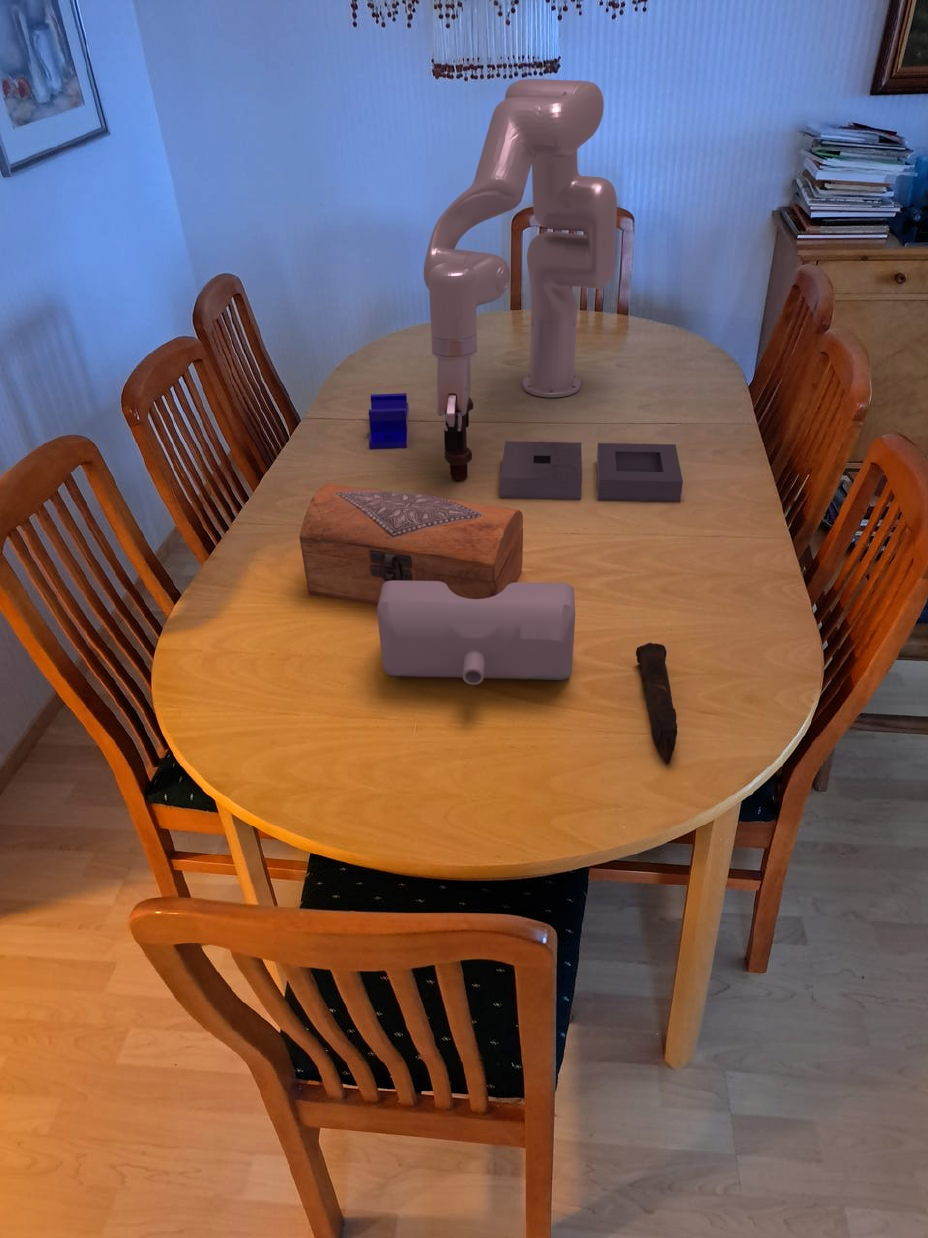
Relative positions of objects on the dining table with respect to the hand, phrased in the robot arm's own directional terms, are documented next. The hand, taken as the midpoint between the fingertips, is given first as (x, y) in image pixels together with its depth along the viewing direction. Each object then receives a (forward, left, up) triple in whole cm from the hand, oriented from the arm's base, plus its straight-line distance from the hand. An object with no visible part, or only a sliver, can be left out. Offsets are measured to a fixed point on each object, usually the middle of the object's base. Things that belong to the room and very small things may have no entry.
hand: (457, 438), depth 159 cm
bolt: (0, 0, -8) cm, 8 cm away
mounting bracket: (-20, -16, -9) cm, 27 cm away
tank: (+54, +8, -8) cm, 55 cm away
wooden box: (+34, -3, -8) cm, 35 cm away
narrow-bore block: (0, +15, -8) cm, 17 cm away
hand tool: (+60, +32, -8) cm, 68 cm away
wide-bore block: (0, +32, -8) cm, 33 cm away
